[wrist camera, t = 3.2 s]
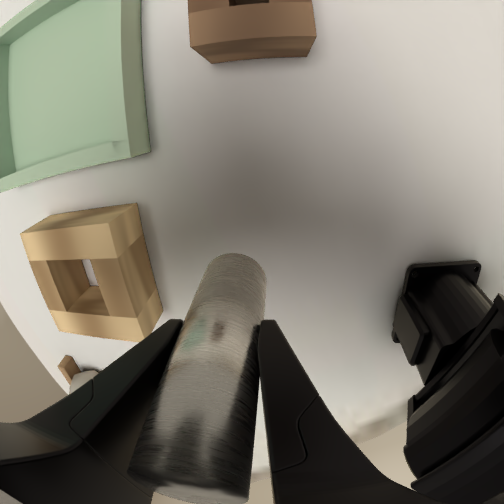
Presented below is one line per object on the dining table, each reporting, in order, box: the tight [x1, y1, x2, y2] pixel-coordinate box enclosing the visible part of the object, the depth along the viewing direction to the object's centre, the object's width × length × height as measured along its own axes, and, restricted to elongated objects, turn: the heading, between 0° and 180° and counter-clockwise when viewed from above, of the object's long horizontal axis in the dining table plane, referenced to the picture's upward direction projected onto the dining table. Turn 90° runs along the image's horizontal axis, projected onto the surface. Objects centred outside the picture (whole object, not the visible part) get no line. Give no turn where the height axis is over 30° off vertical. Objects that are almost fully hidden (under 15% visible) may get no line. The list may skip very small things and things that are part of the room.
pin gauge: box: [127, 253, 266, 504], centre depth 8 cm, size 2×2×8 cm
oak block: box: [20, 203, 163, 342], centre depth 17 cm, size 8×8×4 cm
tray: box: [0, 0, 151, 193], centre depth 12 cm, size 13×13×2 cm
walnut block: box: [188, 0, 316, 64], centre depth 10 cm, size 5×5×4 cm
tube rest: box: [58, 355, 81, 385], centre depth 29 cm, size 8×26×2 cm, turn 4°
